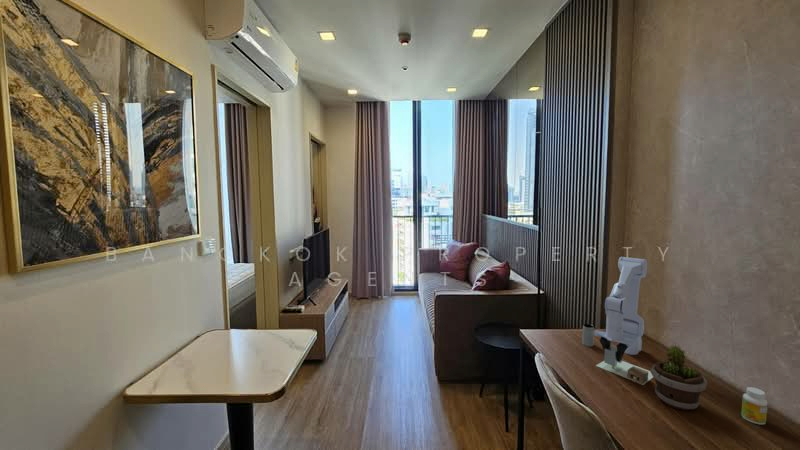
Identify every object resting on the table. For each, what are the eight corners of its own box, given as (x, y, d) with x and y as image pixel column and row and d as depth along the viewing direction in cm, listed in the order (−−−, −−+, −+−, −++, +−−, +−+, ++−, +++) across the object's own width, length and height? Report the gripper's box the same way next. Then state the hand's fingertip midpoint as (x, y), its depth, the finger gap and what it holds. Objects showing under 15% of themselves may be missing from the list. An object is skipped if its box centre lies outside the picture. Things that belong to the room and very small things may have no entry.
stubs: (636, 376, 128) (636, 373, 128) (640, 378, 127) (641, 374, 126) (632, 380, 126) (632, 376, 126) (636, 381, 125) (636, 377, 124)
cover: (633, 373, 130) (633, 366, 130) (647, 379, 126) (648, 371, 126) (627, 377, 127) (627, 370, 127) (642, 383, 123) (642, 375, 123)
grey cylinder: (589, 349, 153) (590, 328, 152) (580, 345, 157) (580, 325, 156) (595, 347, 155) (596, 326, 154) (586, 343, 159) (586, 323, 158)
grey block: (611, 358, 137) (611, 344, 137) (622, 361, 134) (622, 347, 134) (604, 362, 134) (604, 348, 134) (615, 366, 131) (615, 352, 130)
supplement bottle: (736, 414, 107) (738, 386, 106) (751, 413, 108) (753, 385, 107) (755, 425, 102) (758, 396, 101) (771, 424, 102) (773, 395, 102)
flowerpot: (711, 422, 104) (716, 362, 102) (651, 406, 112) (654, 350, 110) (700, 397, 116) (704, 343, 114) (646, 385, 124) (649, 334, 123)
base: (610, 359, 144) (611, 352, 144) (657, 376, 130) (657, 369, 129) (595, 368, 137) (595, 361, 136) (642, 388, 123) (643, 379, 122)
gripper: (591, 322, 137) (589, 353, 138) (630, 334, 125) (628, 368, 126) (599, 319, 140) (598, 349, 142) (638, 330, 128) (636, 363, 130)
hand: (613, 358), depth 134 cm, fingers closed on grey block, 4 cm apart
